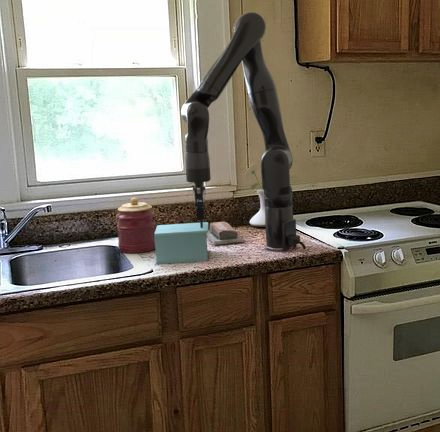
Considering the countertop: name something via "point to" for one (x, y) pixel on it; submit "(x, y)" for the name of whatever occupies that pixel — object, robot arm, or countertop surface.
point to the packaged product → (222, 234)
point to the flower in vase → (260, 216)
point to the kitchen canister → (136, 227)
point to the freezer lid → (181, 229)
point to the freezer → (181, 248)
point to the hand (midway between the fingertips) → (200, 217)
